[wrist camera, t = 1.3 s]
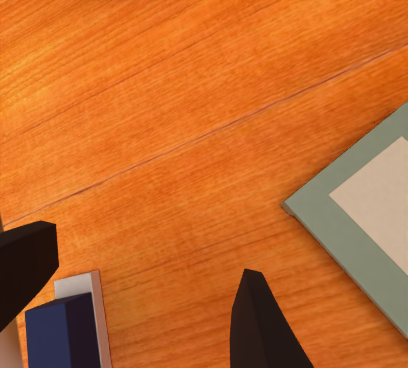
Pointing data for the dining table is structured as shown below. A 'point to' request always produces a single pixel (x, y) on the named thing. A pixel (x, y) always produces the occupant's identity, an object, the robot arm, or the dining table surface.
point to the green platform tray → (365, 214)
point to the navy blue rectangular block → (69, 326)
